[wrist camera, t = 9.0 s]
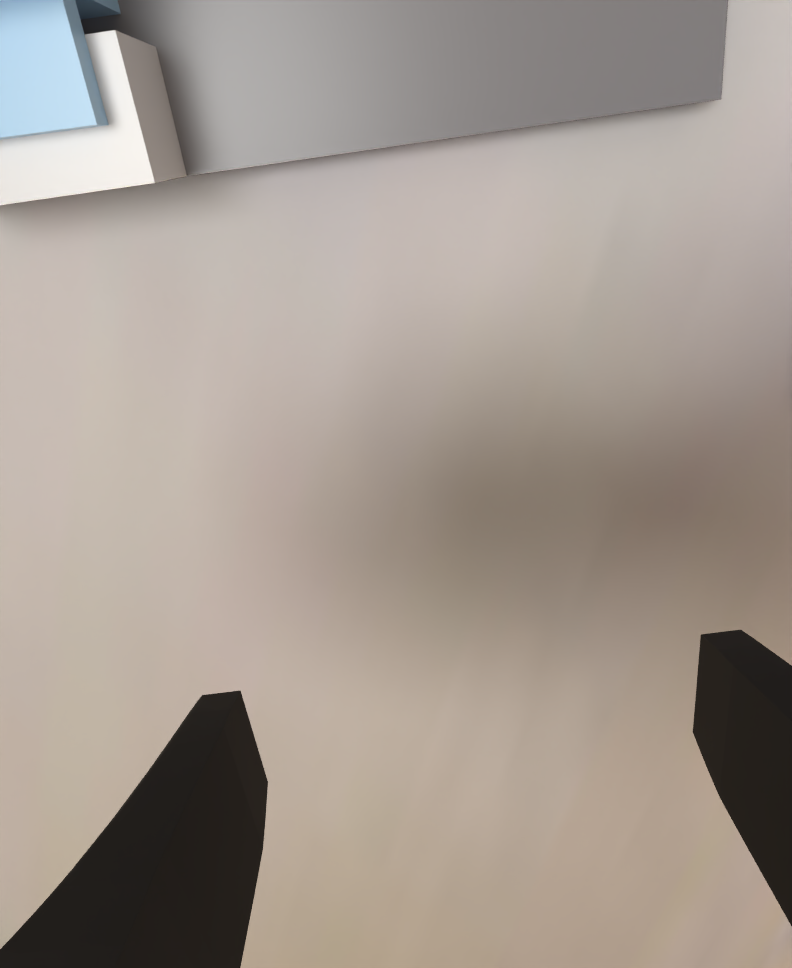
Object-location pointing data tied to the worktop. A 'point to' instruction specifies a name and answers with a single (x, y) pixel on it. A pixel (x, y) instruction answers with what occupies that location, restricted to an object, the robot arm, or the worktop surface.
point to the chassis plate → (356, 80)
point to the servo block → (48, 67)
